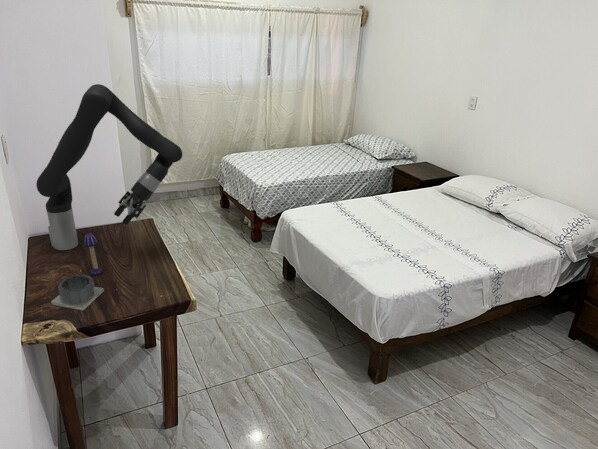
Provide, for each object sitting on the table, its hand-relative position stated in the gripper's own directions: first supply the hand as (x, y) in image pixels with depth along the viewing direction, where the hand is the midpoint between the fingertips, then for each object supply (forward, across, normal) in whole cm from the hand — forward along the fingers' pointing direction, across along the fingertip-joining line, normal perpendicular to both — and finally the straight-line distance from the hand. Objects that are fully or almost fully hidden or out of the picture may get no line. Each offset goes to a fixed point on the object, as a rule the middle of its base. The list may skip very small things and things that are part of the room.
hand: (120, 219), depth 166 cm
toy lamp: (+22, 0, +6) cm, 23 cm away
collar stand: (+30, +13, -1) cm, 32 cm away
